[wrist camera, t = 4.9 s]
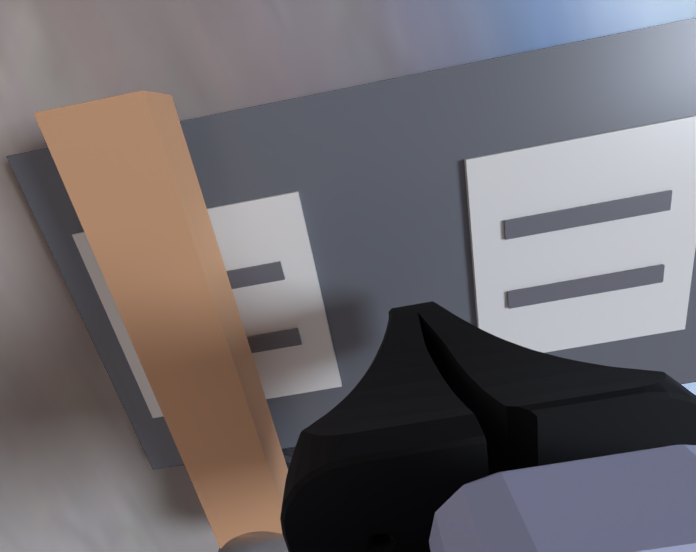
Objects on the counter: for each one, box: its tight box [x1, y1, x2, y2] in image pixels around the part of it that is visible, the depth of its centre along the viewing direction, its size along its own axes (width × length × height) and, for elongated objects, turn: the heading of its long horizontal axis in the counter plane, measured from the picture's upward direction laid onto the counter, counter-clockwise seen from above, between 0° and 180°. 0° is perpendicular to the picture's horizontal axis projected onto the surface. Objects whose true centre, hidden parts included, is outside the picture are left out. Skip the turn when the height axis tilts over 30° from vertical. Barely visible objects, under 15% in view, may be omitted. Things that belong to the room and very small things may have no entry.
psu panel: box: [6, 18, 696, 469], centre depth 13 cm, size 12×21×1 cm, turn 100°
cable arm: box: [34, 90, 288, 552], centre depth 12 cm, size 16×3×2 cm, turn 10°
